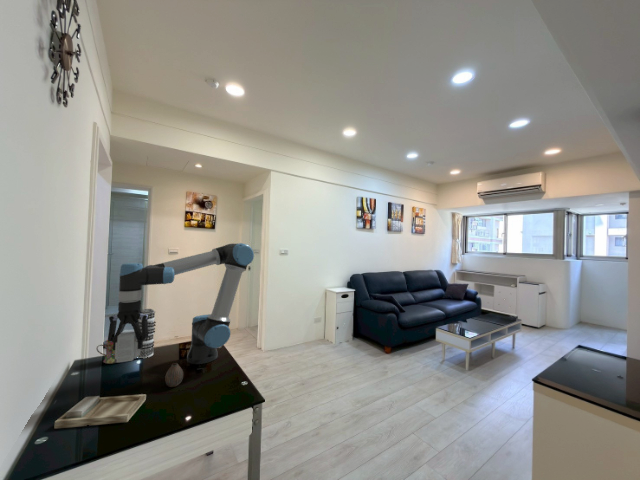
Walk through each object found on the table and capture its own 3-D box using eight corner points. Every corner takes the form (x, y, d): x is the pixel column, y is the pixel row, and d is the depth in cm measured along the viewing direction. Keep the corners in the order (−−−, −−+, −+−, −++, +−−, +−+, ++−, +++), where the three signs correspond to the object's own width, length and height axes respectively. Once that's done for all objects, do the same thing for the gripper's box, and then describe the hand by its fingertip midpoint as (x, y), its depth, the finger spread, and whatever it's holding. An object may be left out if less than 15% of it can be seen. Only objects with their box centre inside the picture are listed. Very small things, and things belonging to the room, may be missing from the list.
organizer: (145, 399, 99) (146, 389, 99) (127, 421, 86) (127, 410, 86) (83, 404, 95) (84, 394, 95) (54, 428, 82) (55, 416, 82)
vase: (185, 384, 111) (186, 364, 111) (167, 390, 106) (168, 369, 106) (179, 379, 115) (180, 359, 116) (162, 384, 110) (163, 364, 111)
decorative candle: (129, 357, 137) (132, 310, 138) (146, 351, 146) (149, 307, 147) (141, 360, 134) (144, 312, 135) (158, 353, 142) (160, 308, 144)
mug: (126, 356, 138) (127, 336, 139) (123, 362, 130) (124, 341, 131) (97, 360, 132) (99, 339, 133) (93, 367, 124) (94, 345, 125)
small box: (122, 355, 107) (123, 329, 107) (138, 353, 109) (139, 328, 109) (115, 363, 99) (117, 335, 100) (133, 360, 102) (134, 334, 102)
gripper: (159, 298, 111) (157, 352, 110) (109, 299, 107) (106, 355, 106) (151, 301, 103) (149, 359, 102) (97, 303, 100) (94, 362, 99)
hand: (127, 357), depth 104 cm, fingers closed on small box, 6 cm apart
